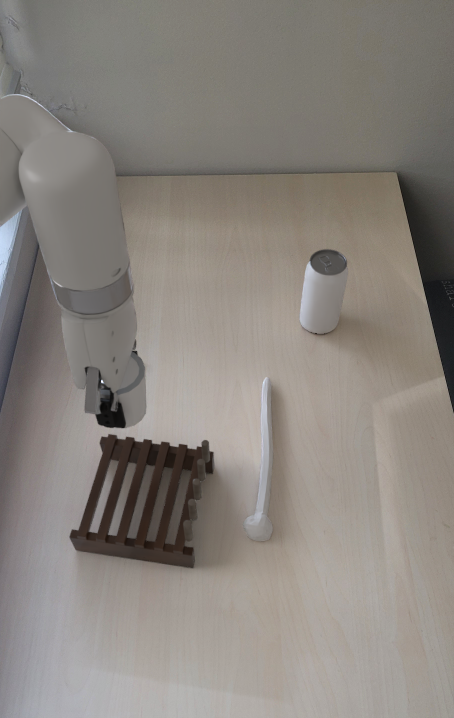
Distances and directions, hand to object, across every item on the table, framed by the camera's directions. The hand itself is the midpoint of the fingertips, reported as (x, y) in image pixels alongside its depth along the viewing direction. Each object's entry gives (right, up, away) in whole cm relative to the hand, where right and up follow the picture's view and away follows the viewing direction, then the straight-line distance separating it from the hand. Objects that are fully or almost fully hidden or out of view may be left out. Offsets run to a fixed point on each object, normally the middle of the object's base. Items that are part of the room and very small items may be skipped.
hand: (120, 398), depth 75 cm
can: (+28, +18, +31) cm, 45 cm away
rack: (+2, -13, +13) cm, 19 cm away
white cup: (0, -1, +2) cm, 2 cm away
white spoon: (+17, -5, +18) cm, 25 cm away
